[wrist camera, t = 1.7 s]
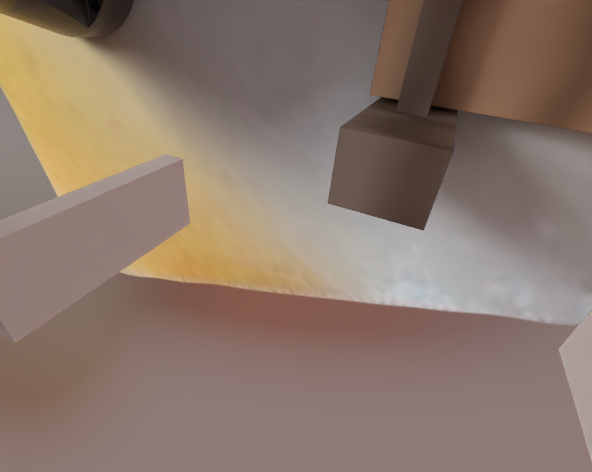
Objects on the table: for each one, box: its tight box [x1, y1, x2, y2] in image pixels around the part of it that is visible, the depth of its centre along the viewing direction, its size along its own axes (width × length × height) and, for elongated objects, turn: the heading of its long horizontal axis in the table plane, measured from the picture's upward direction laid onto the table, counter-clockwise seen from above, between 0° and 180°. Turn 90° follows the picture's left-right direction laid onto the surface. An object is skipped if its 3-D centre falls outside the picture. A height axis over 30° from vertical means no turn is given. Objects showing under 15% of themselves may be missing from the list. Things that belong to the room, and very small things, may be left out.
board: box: [370, 0, 592, 133], centre depth 16 cm, size 20×10×2 cm, turn 83°
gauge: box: [328, 0, 463, 230], centre depth 17 cm, size 5×16×10 cm, turn 173°
